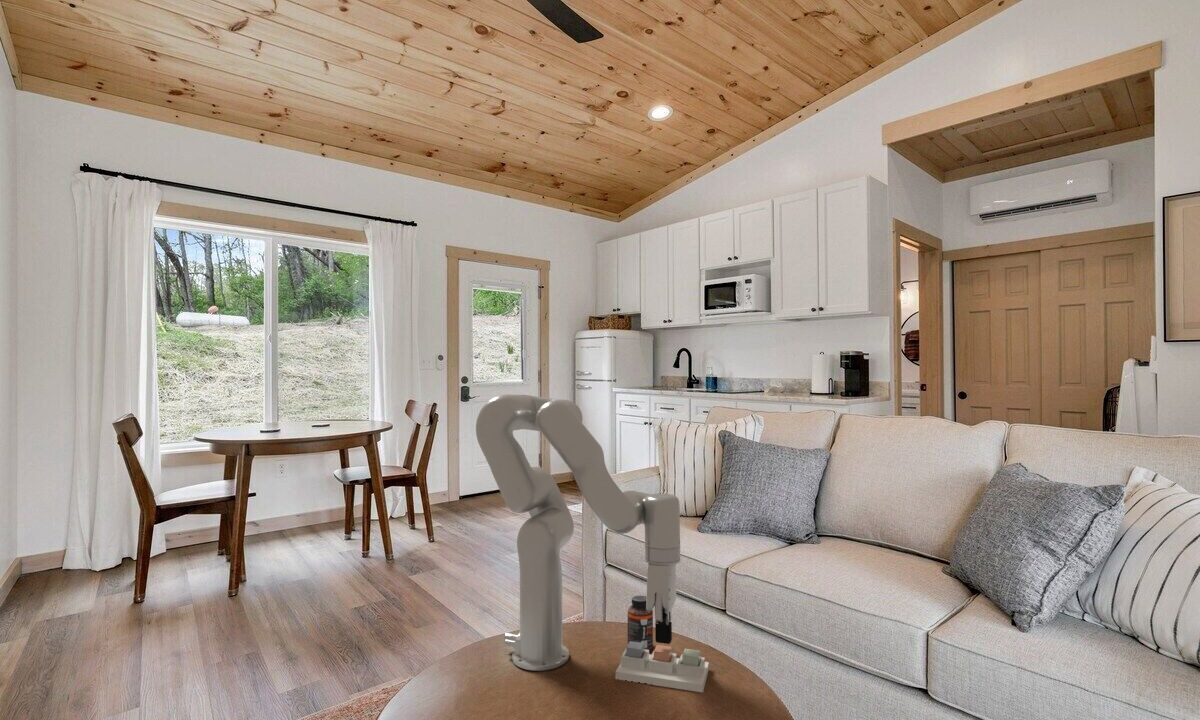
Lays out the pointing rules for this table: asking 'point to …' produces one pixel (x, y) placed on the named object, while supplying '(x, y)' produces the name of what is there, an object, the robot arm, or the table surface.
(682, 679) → the button console
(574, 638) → the table surface
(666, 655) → the terracotta button
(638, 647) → the slate button
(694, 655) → the sage button
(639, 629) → the supplement bottle
